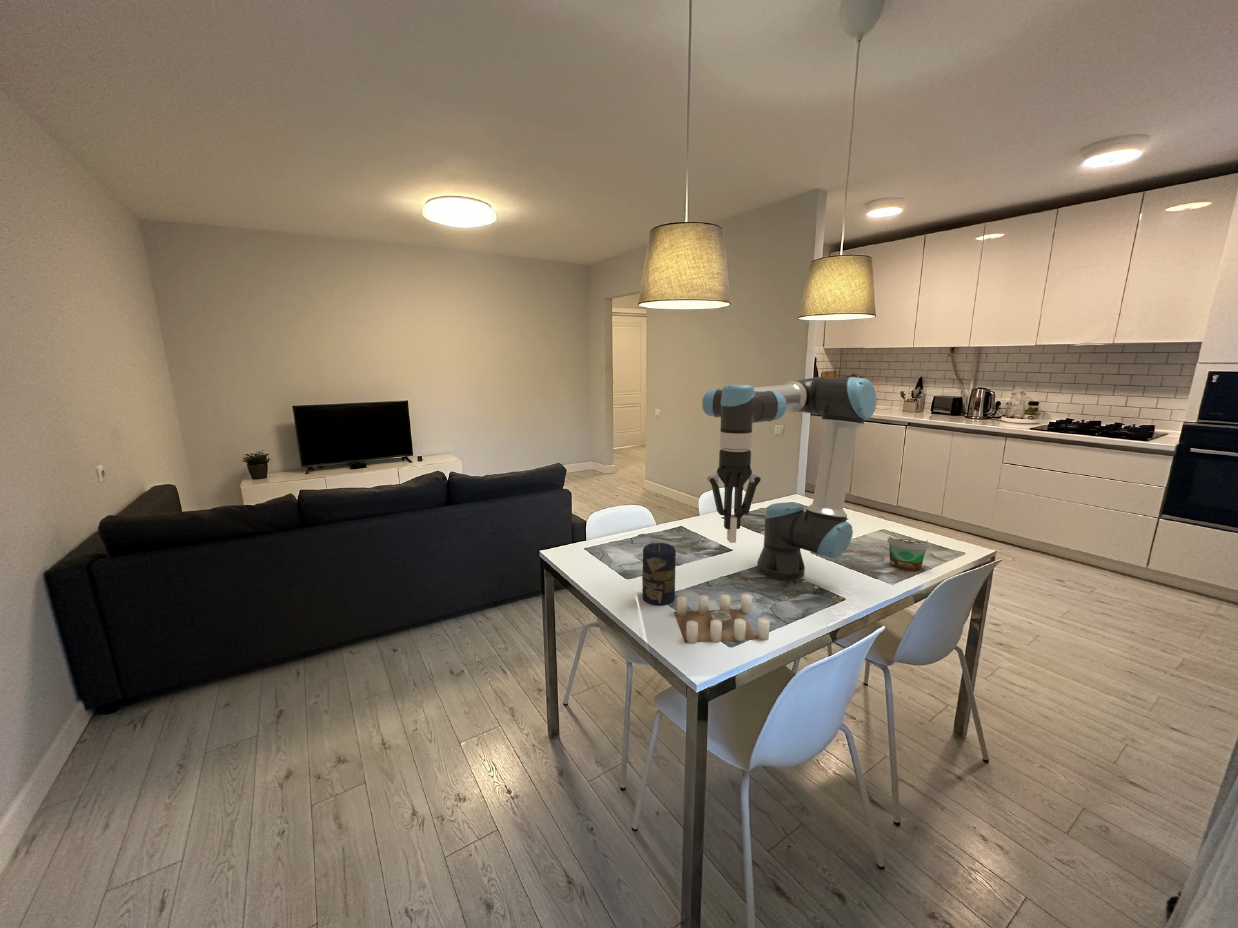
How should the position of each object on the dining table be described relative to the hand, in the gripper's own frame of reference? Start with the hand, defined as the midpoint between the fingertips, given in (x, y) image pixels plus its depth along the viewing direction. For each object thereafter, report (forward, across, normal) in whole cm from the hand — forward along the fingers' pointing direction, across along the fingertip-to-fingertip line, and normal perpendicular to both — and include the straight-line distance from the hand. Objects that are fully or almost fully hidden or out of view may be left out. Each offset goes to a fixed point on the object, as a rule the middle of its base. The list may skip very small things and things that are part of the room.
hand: (731, 540), depth 121 cm
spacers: (+23, +2, 0) cm, 23 cm away
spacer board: (+24, 0, 0) cm, 24 cm away
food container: (+25, -71, -32) cm, 82 cm away
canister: (+25, +16, -16) cm, 33 cm away
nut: (+23, +2, 0) cm, 23 cm away
